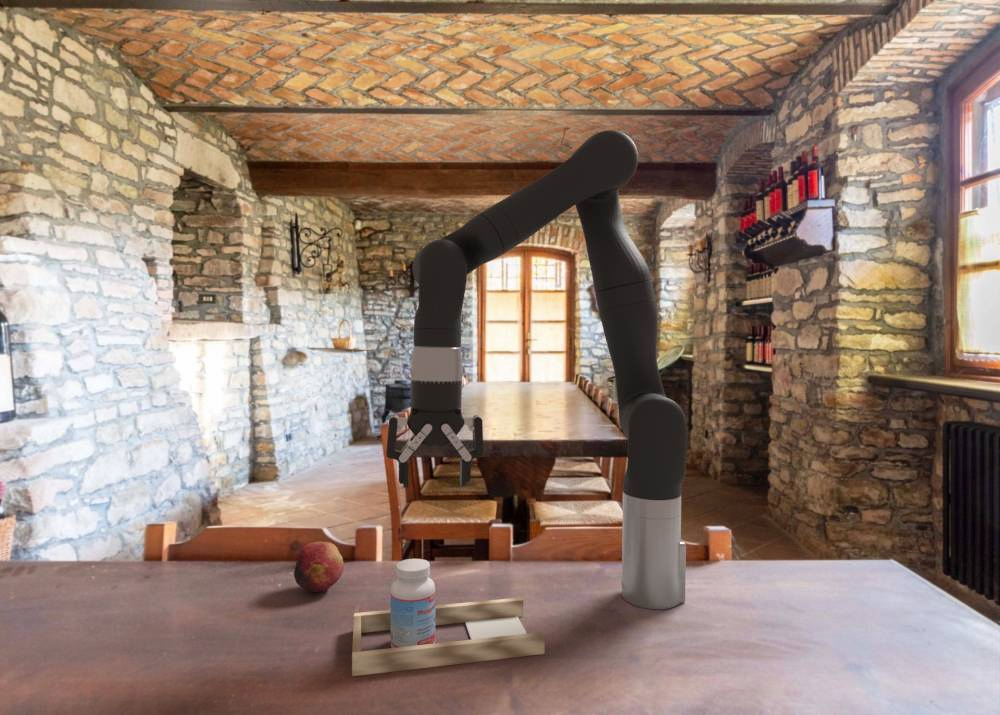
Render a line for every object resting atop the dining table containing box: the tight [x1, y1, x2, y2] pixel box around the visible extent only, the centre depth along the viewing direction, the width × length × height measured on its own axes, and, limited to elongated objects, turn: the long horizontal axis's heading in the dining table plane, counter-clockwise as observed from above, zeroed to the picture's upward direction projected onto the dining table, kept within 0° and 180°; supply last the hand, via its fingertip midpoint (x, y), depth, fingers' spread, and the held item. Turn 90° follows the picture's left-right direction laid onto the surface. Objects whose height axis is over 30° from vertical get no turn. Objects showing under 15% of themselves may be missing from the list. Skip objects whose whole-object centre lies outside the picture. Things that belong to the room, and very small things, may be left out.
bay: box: [351, 596, 546, 677], centre depth 82 cm, size 25×12×2 cm, turn 103°
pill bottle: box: [390, 558, 436, 648], centre depth 81 cm, size 6×6×11 cm
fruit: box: [293, 541, 345, 593], centre depth 99 cm, size 8×8×8 cm
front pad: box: [464, 617, 527, 640], centre depth 84 cm, size 8×9×1 cm
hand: (434, 485), depth 89 cm, fingers open, 8 cm apart
